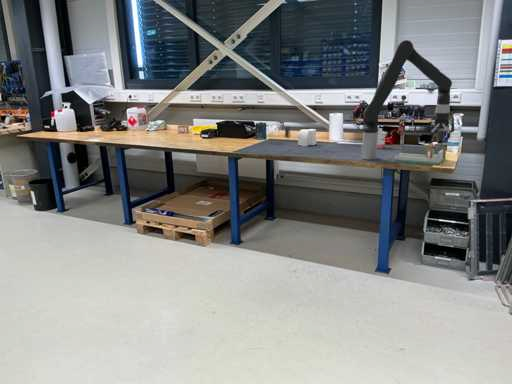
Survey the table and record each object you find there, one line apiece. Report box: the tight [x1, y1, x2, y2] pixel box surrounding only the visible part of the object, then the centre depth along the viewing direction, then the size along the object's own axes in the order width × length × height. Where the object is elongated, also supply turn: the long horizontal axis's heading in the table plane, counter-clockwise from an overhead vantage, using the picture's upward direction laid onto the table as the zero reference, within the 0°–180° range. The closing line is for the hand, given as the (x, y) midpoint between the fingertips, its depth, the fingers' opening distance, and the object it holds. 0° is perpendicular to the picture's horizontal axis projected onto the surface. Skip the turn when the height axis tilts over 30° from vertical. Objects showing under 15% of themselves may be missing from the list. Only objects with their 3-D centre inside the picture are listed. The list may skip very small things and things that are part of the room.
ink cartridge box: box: [377, 127, 386, 149], centre depth 300 cm, size 9×5×15 cm, turn 47°
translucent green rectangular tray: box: [393, 144, 447, 166], centre depth 253 cm, size 26×19×8 cm
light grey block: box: [297, 128, 317, 147], centre depth 323 cm, size 11×11×12 cm
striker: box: [425, 130, 455, 158], centre depth 246 cm, size 13×15×16 cm
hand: (440, 138), depth 251 cm, fingers open, 8 cm apart
